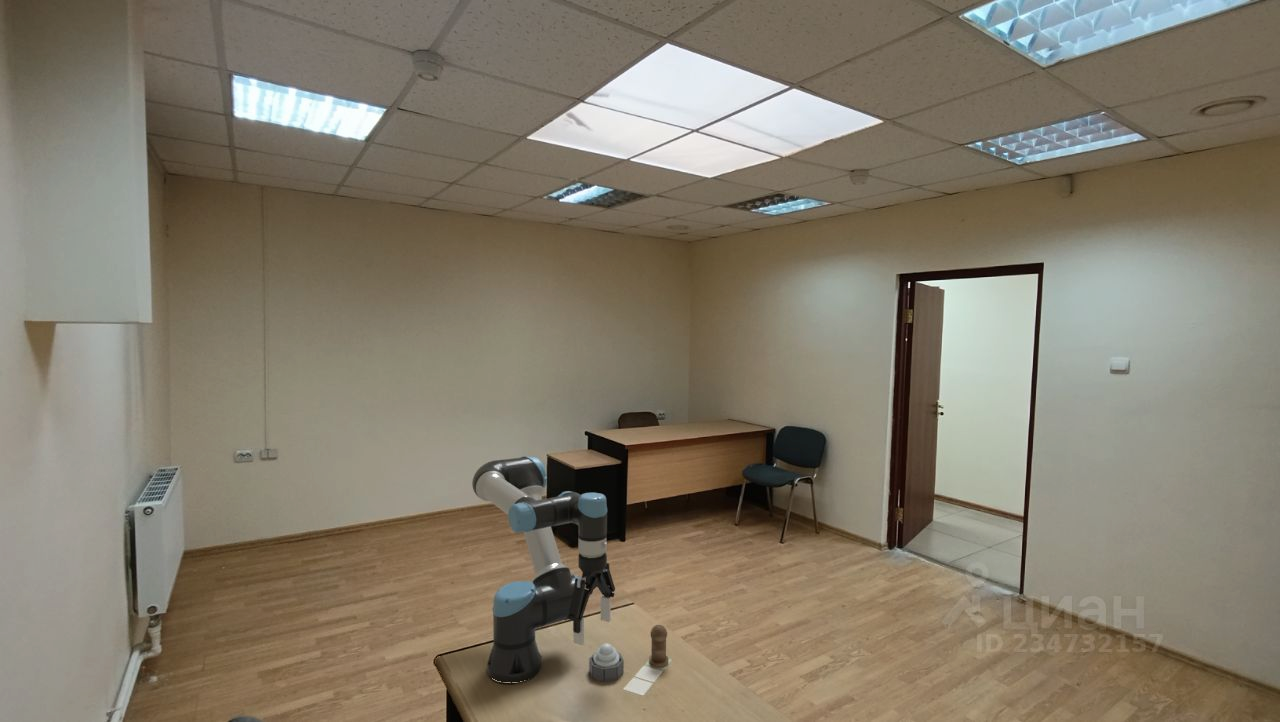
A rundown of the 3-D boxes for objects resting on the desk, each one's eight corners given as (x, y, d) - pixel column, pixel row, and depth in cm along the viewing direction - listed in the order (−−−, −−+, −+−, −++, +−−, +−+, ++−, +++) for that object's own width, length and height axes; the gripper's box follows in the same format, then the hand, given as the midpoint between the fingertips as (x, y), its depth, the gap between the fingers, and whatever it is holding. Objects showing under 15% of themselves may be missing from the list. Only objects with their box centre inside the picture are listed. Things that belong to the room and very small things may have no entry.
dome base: (584, 679, 158) (584, 663, 158) (600, 662, 166) (600, 647, 166) (612, 688, 154) (612, 671, 154) (628, 671, 162) (628, 655, 162)
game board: (617, 692, 152) (617, 688, 152) (649, 655, 170) (649, 652, 170) (647, 702, 148) (647, 698, 148) (677, 663, 166) (677, 660, 166)
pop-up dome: (588, 666, 159) (588, 647, 158) (601, 654, 165) (601, 635, 165) (611, 673, 155) (611, 653, 155) (623, 660, 162) (623, 641, 162)
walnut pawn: (645, 664, 164) (645, 627, 163) (654, 654, 169) (654, 619, 168) (663, 669, 161) (663, 632, 161) (671, 659, 166) (671, 623, 166)
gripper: (578, 572, 139) (579, 657, 140) (627, 540, 162) (627, 614, 162) (553, 566, 143) (553, 650, 143) (604, 536, 165) (604, 609, 166)
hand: (592, 631), depth 153 cm, fingers open, 13 cm apart
